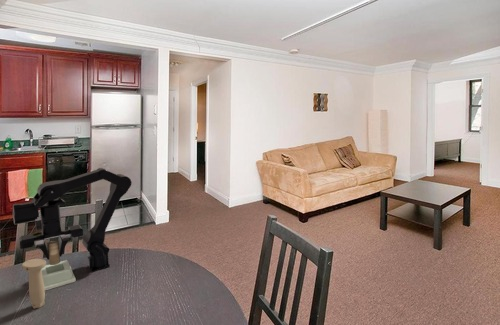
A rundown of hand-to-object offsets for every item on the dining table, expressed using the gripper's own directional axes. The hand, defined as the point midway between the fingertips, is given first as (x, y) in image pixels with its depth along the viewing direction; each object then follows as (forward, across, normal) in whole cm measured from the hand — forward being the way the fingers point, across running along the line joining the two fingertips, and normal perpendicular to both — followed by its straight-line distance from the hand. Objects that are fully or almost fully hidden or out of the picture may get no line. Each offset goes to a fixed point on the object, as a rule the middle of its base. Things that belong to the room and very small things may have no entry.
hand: (54, 257), depth 105 cm
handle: (+9, +6, +14) cm, 18 cm away
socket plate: (+9, 0, 0) cm, 9 cm away
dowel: (+2, 0, 0) cm, 2 cm away
